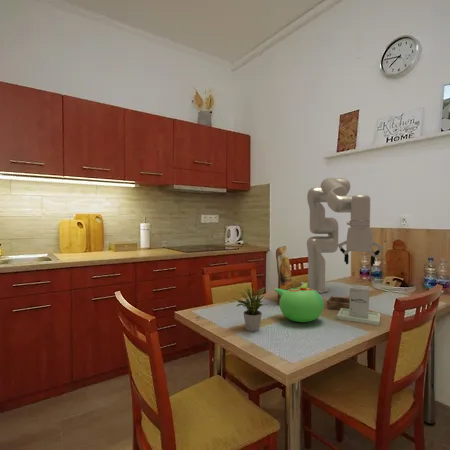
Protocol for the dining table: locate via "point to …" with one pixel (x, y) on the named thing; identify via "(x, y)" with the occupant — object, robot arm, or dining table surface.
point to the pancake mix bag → (283, 270)
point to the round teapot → (300, 303)
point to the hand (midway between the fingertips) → (359, 264)
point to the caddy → (338, 303)
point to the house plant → (252, 309)
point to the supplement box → (359, 301)
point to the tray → (372, 318)
